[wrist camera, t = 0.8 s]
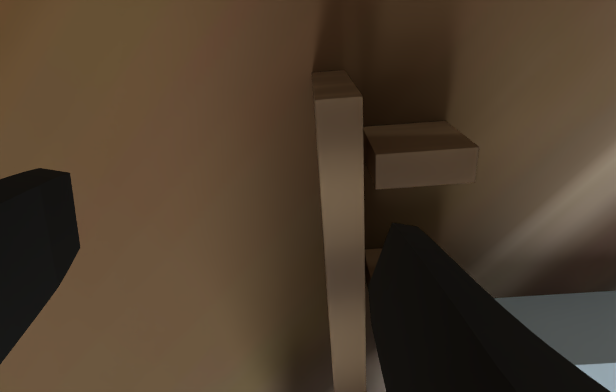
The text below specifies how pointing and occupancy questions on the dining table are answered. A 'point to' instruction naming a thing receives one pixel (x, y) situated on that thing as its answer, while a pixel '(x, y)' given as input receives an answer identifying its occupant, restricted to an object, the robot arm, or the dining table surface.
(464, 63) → the dining table surface
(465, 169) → the plank with two pegs
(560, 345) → the rail
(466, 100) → the dining table surface
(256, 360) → the dining table surface
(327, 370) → the dining table surface
